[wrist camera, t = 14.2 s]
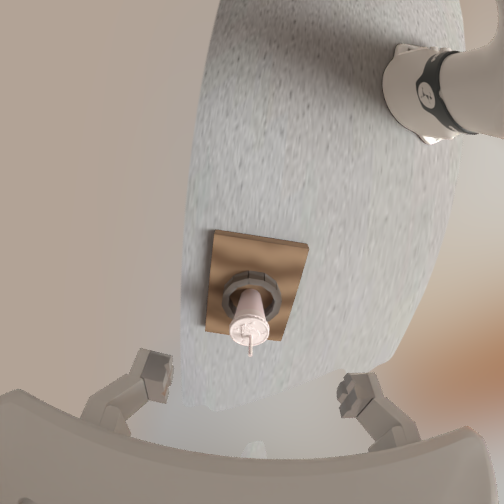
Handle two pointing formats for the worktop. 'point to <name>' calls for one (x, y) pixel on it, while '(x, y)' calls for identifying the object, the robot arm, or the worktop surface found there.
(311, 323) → the worktop surface
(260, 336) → the smoothie
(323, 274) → the worktop surface
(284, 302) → the stand
